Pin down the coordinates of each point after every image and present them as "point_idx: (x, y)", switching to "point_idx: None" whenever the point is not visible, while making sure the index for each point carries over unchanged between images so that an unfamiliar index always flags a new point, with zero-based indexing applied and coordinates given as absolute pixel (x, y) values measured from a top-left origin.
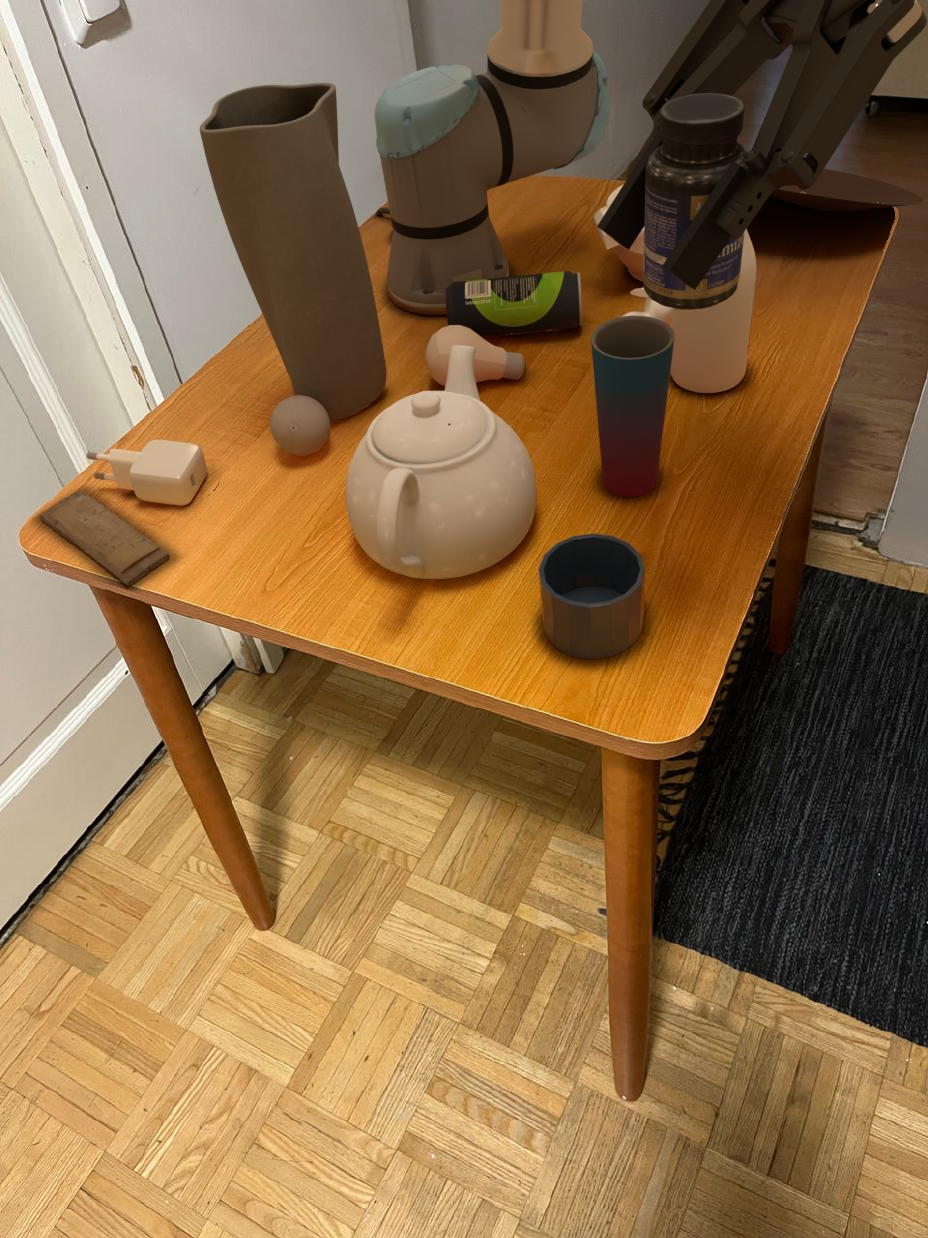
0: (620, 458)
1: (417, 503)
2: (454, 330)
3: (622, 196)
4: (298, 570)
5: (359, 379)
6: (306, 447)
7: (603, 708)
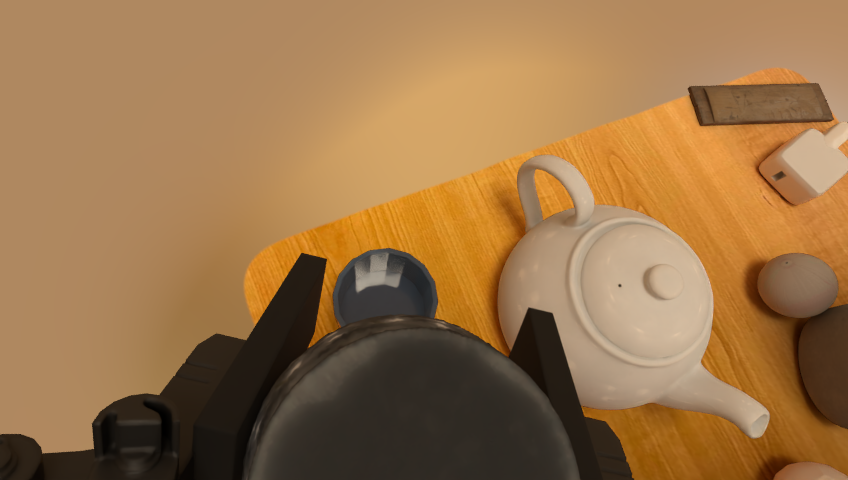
0: None
1: (563, 224)
2: None
3: (547, 356)
4: (616, 184)
5: (833, 373)
6: (761, 273)
7: (310, 247)
